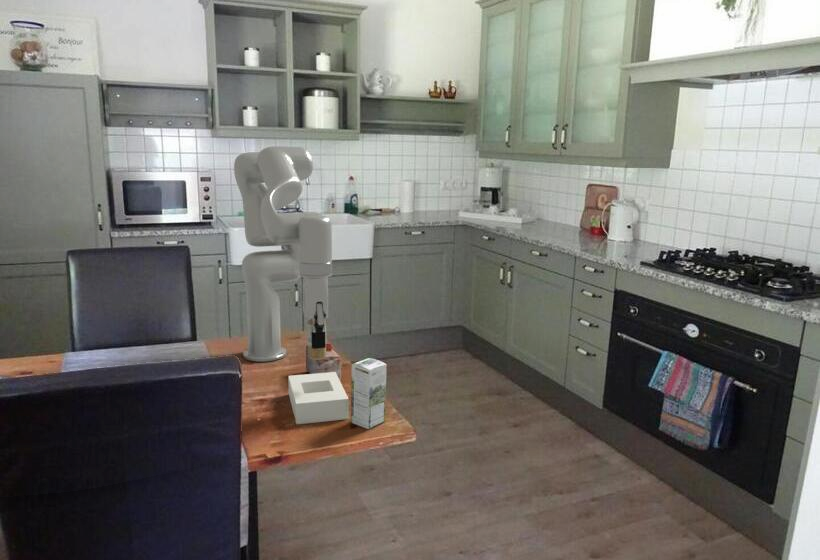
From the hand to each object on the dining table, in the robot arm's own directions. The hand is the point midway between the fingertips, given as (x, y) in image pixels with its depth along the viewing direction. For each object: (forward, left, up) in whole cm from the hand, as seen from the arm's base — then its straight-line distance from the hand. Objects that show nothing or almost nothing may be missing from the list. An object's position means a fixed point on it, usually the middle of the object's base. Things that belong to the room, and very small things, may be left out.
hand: (317, 343), depth 146 cm
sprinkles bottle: (0, 0, -4) cm, 4 cm away
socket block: (0, 0, -16) cm, 16 cm away
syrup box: (+12, +10, -16) cm, 22 cm away
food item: (-19, +4, -16) cm, 25 cm away
